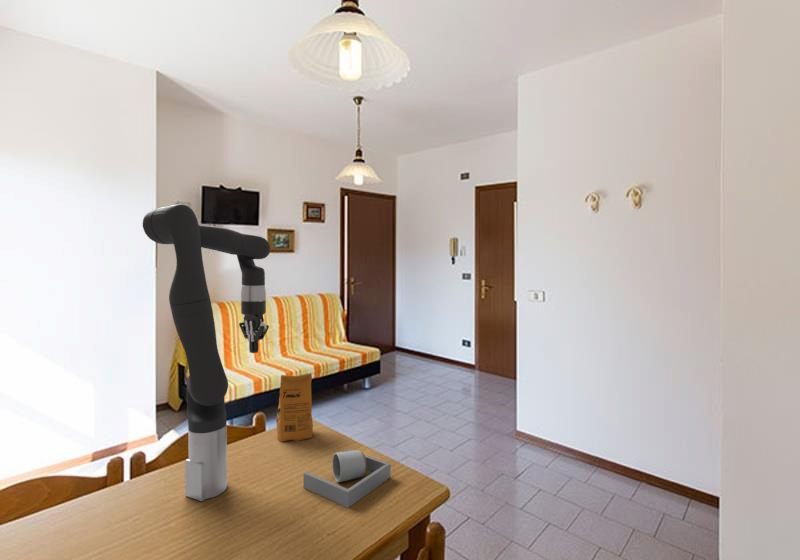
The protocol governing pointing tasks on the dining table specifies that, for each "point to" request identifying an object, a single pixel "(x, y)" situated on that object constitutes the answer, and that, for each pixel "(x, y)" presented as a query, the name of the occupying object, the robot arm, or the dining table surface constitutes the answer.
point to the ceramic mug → (349, 465)
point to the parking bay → (357, 491)
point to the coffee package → (295, 408)
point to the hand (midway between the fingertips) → (253, 352)
